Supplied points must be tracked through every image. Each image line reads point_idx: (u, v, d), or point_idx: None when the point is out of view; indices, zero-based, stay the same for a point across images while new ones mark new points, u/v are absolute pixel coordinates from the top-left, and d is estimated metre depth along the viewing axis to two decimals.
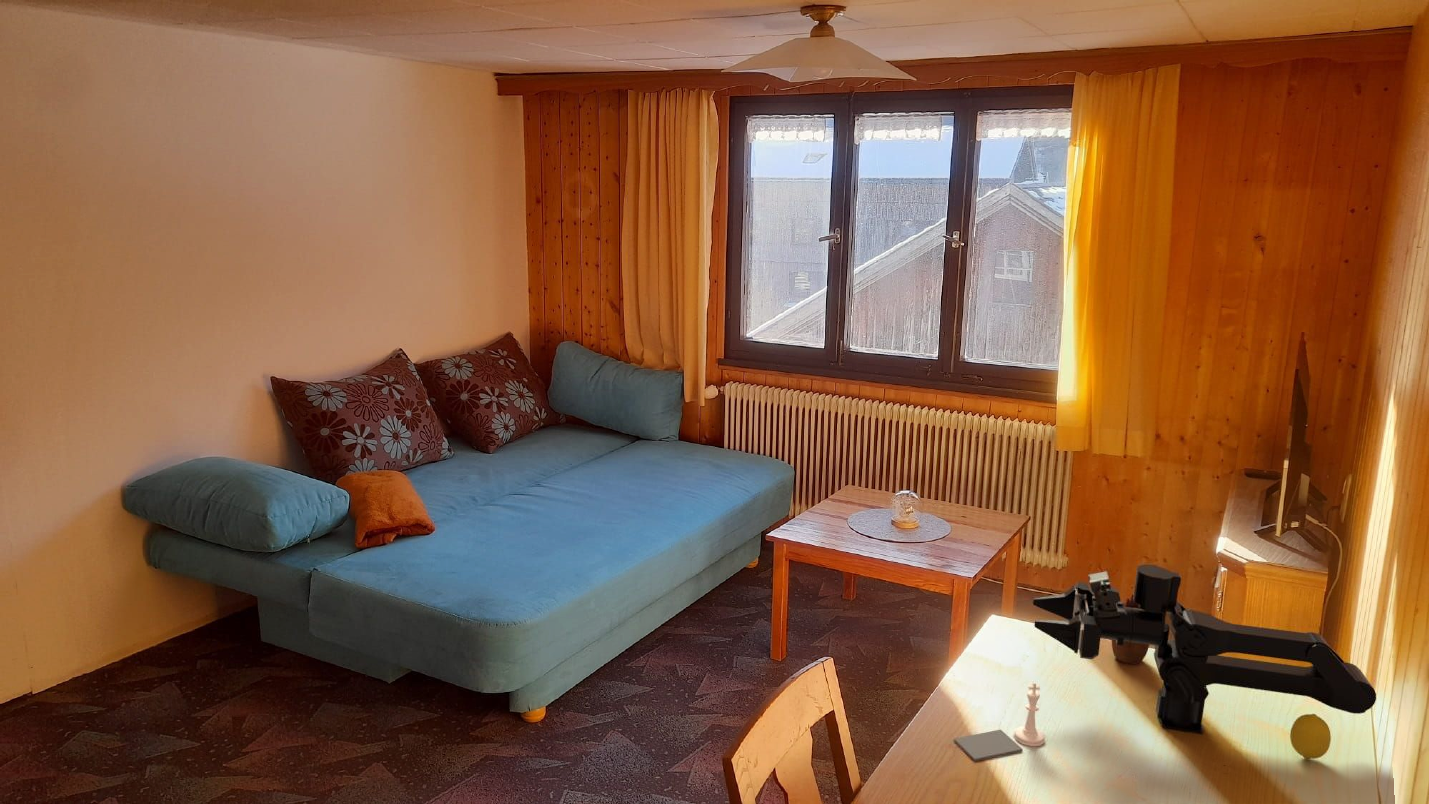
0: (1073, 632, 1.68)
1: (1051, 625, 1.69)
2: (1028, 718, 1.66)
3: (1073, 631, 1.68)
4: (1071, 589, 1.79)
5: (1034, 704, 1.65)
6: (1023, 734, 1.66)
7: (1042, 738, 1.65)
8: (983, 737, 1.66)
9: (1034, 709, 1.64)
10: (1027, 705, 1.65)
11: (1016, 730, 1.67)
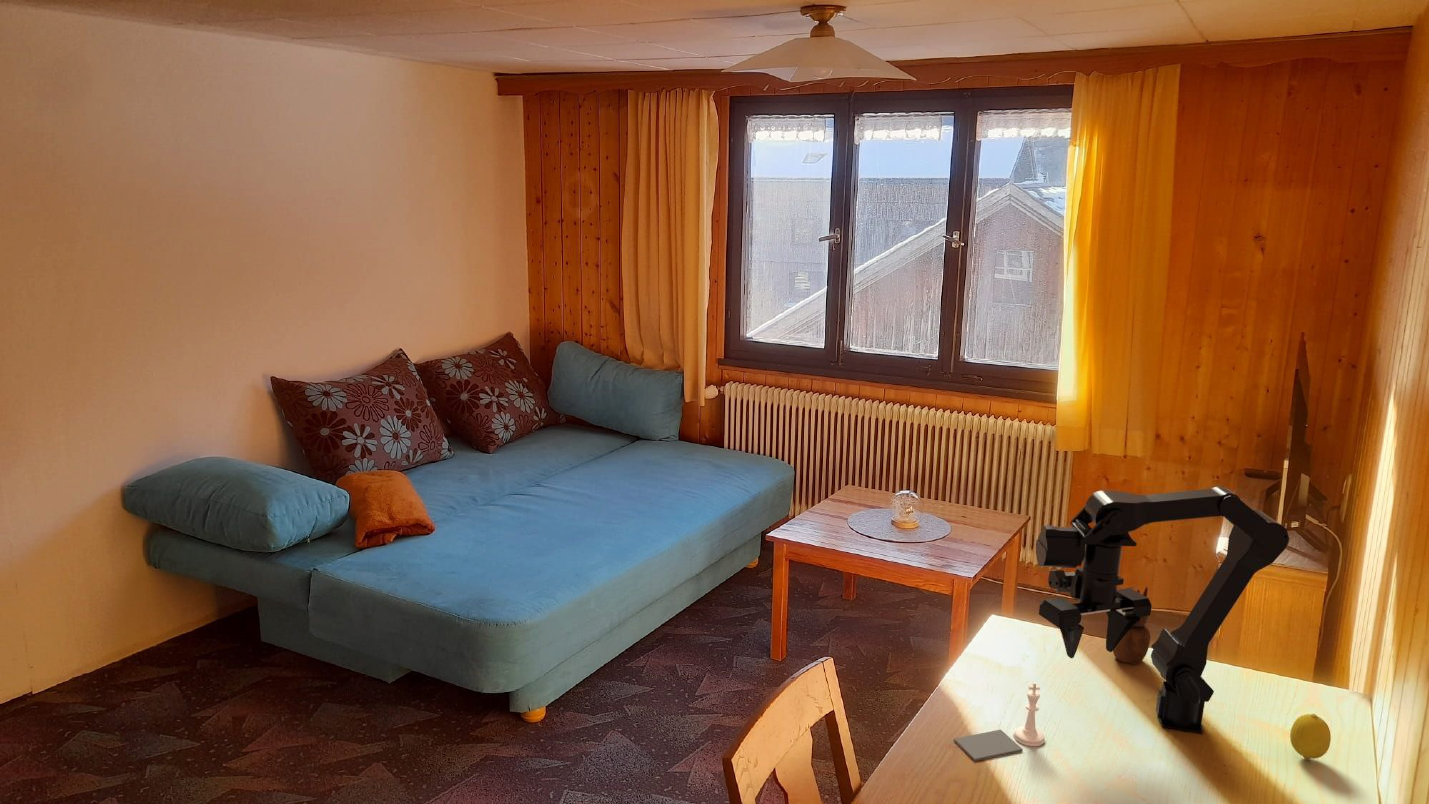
0: None
1: (1065, 642, 1.68)
2: (1028, 718, 1.66)
3: None
4: None
5: (1034, 704, 1.65)
6: (1023, 734, 1.66)
7: (1042, 738, 1.65)
8: (983, 737, 1.66)
9: (1034, 709, 1.64)
10: (1027, 705, 1.65)
11: (1016, 730, 1.67)
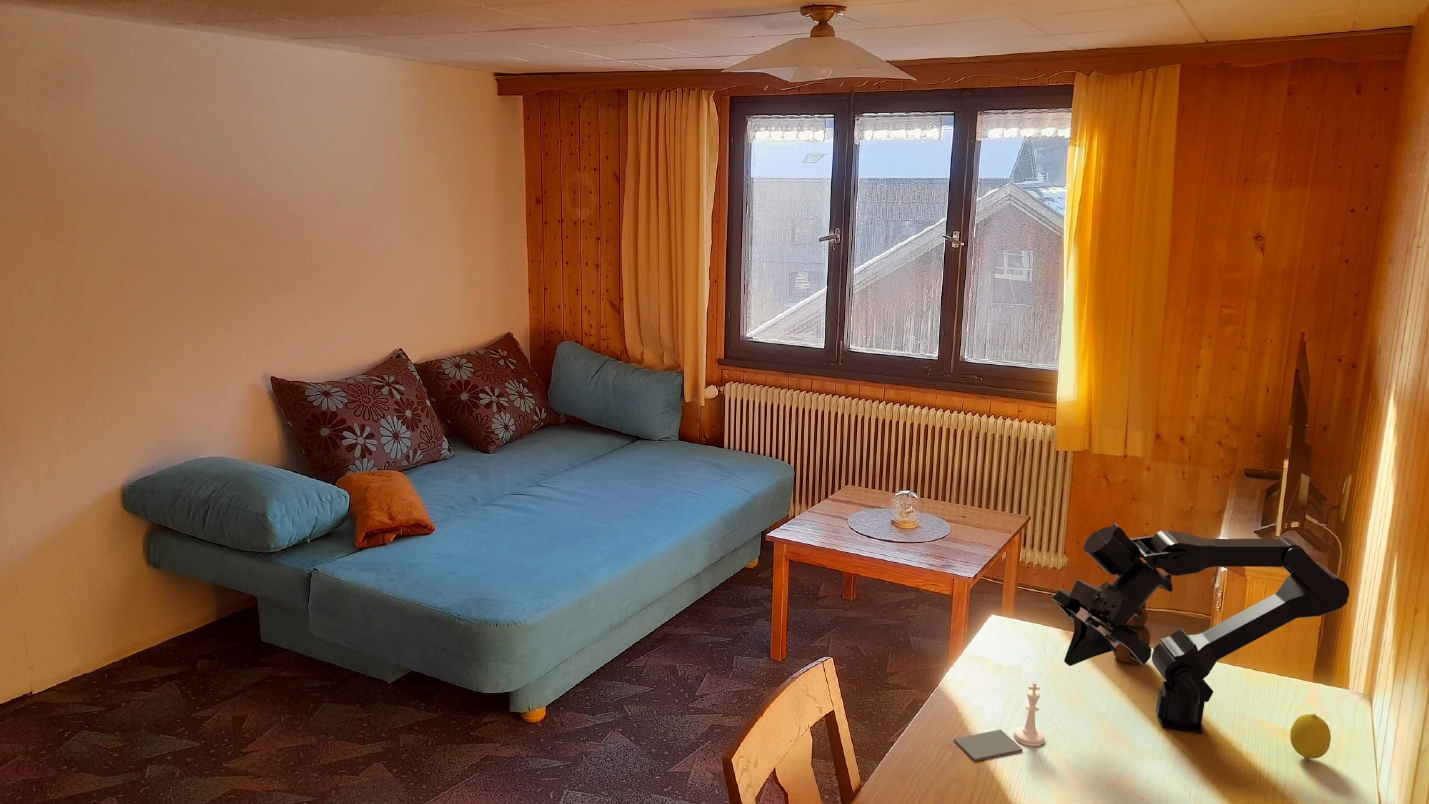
0: (1097, 639, 1.65)
1: (1080, 653, 1.65)
2: (1028, 718, 1.66)
3: (1096, 639, 1.65)
4: (1076, 621, 1.67)
5: (1034, 704, 1.65)
6: (1023, 734, 1.66)
7: (1042, 738, 1.65)
8: (983, 737, 1.66)
9: (1034, 709, 1.64)
10: (1027, 705, 1.65)
11: (1016, 730, 1.67)
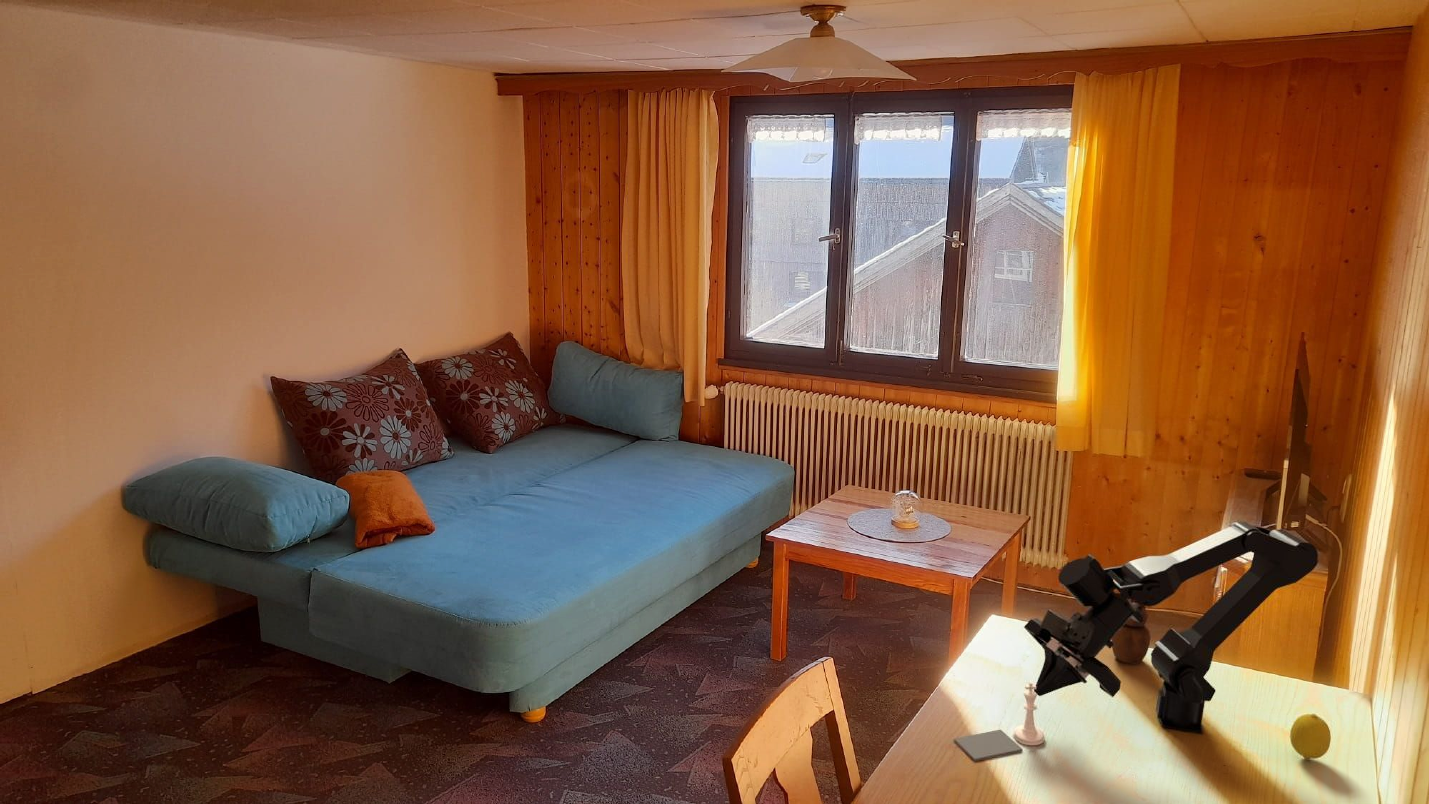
0: (1067, 670, 1.64)
1: (1050, 683, 1.64)
2: (1027, 717, 1.65)
3: (1066, 669, 1.64)
4: (1047, 651, 1.66)
5: (1032, 703, 1.64)
6: (1023, 734, 1.66)
7: (1042, 736, 1.65)
8: (983, 737, 1.66)
9: (1032, 708, 1.64)
10: (1025, 705, 1.65)
11: (1016, 730, 1.67)
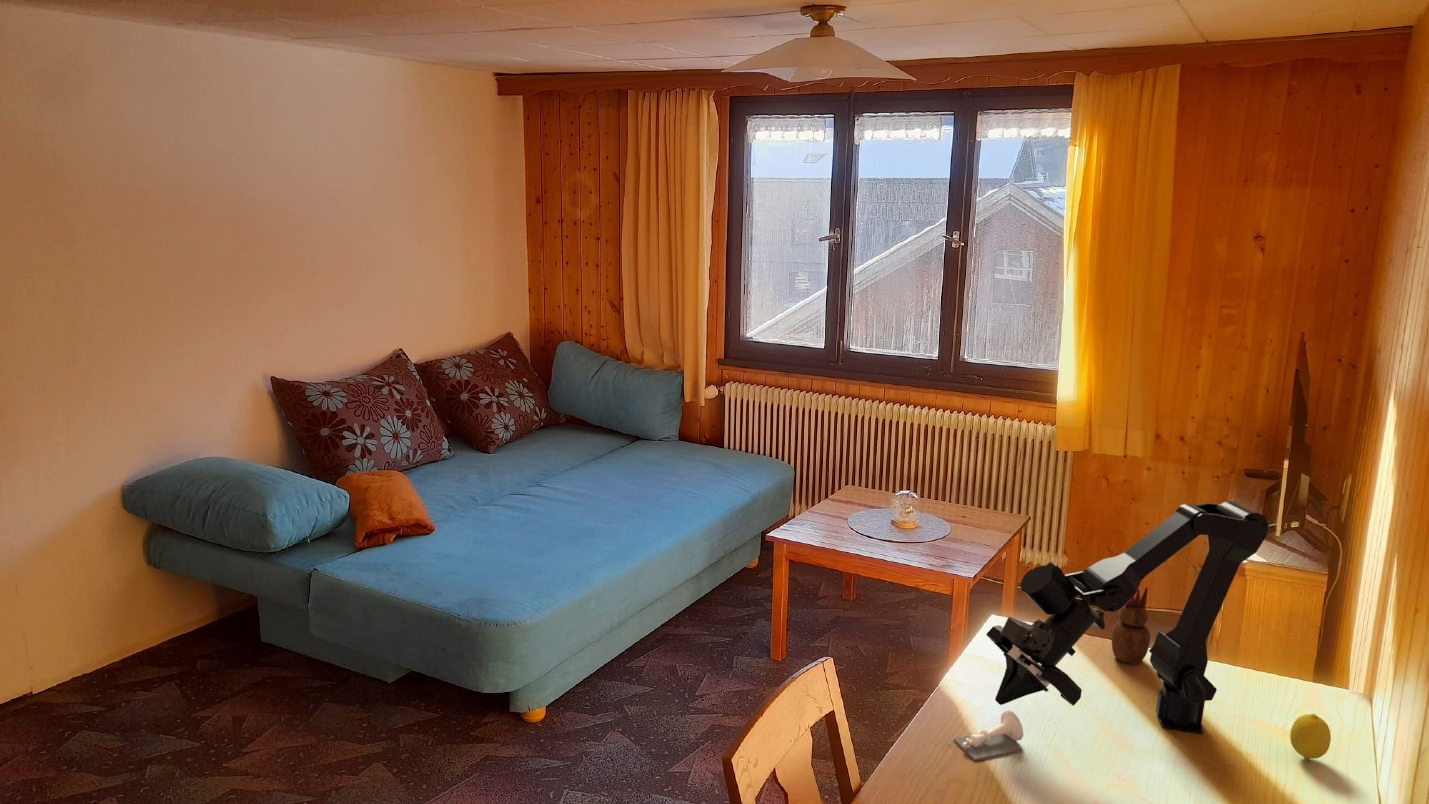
0: (1028, 678, 1.62)
1: (1011, 692, 1.62)
2: (996, 735, 1.64)
3: (1027, 677, 1.62)
4: (1008, 659, 1.64)
5: (983, 739, 1.63)
6: (1011, 736, 1.65)
7: (1015, 723, 1.64)
8: None
9: (988, 739, 1.63)
10: None
11: None
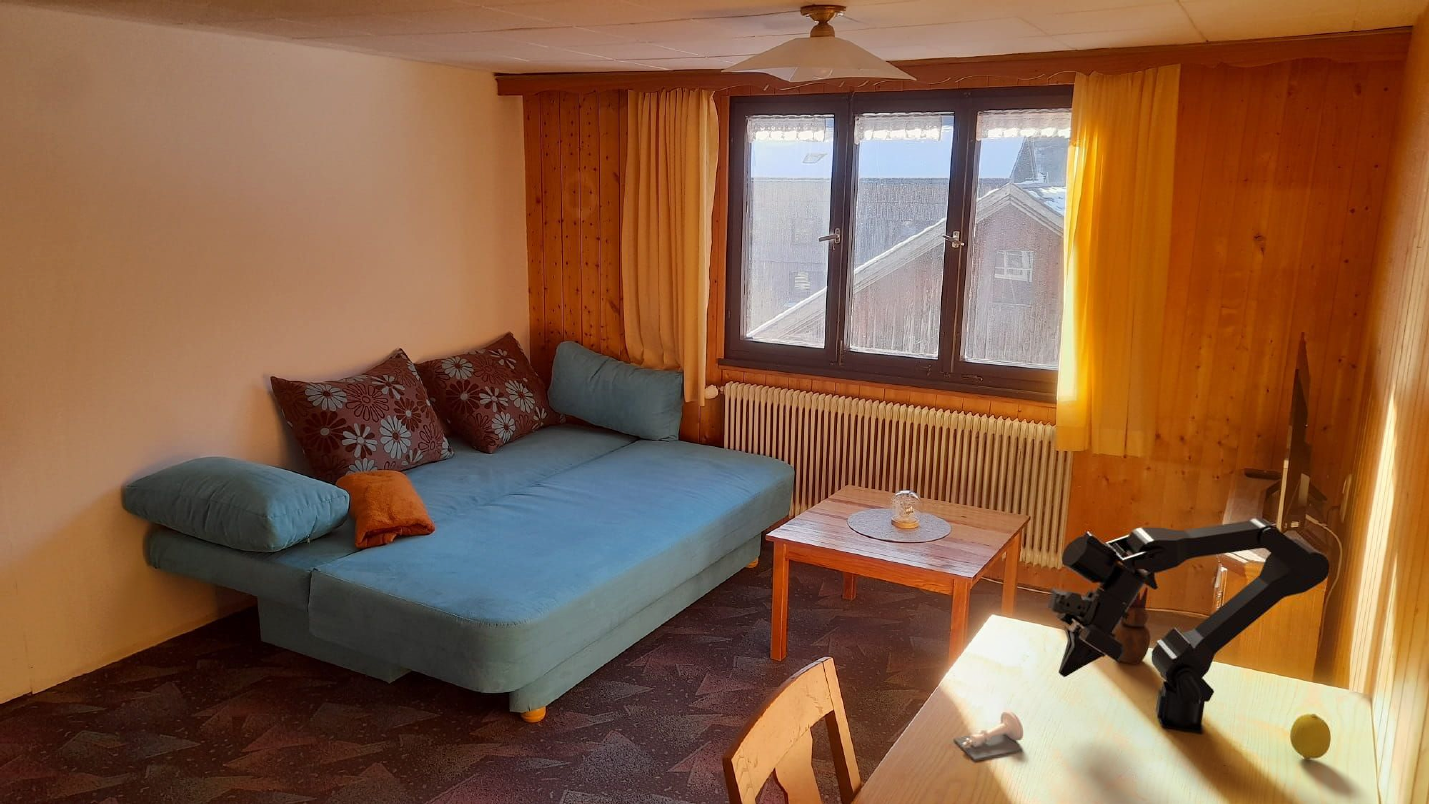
0: (1084, 646, 1.66)
1: (1069, 661, 1.66)
2: (996, 735, 1.64)
3: (1083, 646, 1.66)
4: (1066, 632, 1.69)
5: (983, 738, 1.63)
6: (1011, 736, 1.65)
7: (1015, 723, 1.64)
8: None
9: (988, 739, 1.63)
10: None
11: None
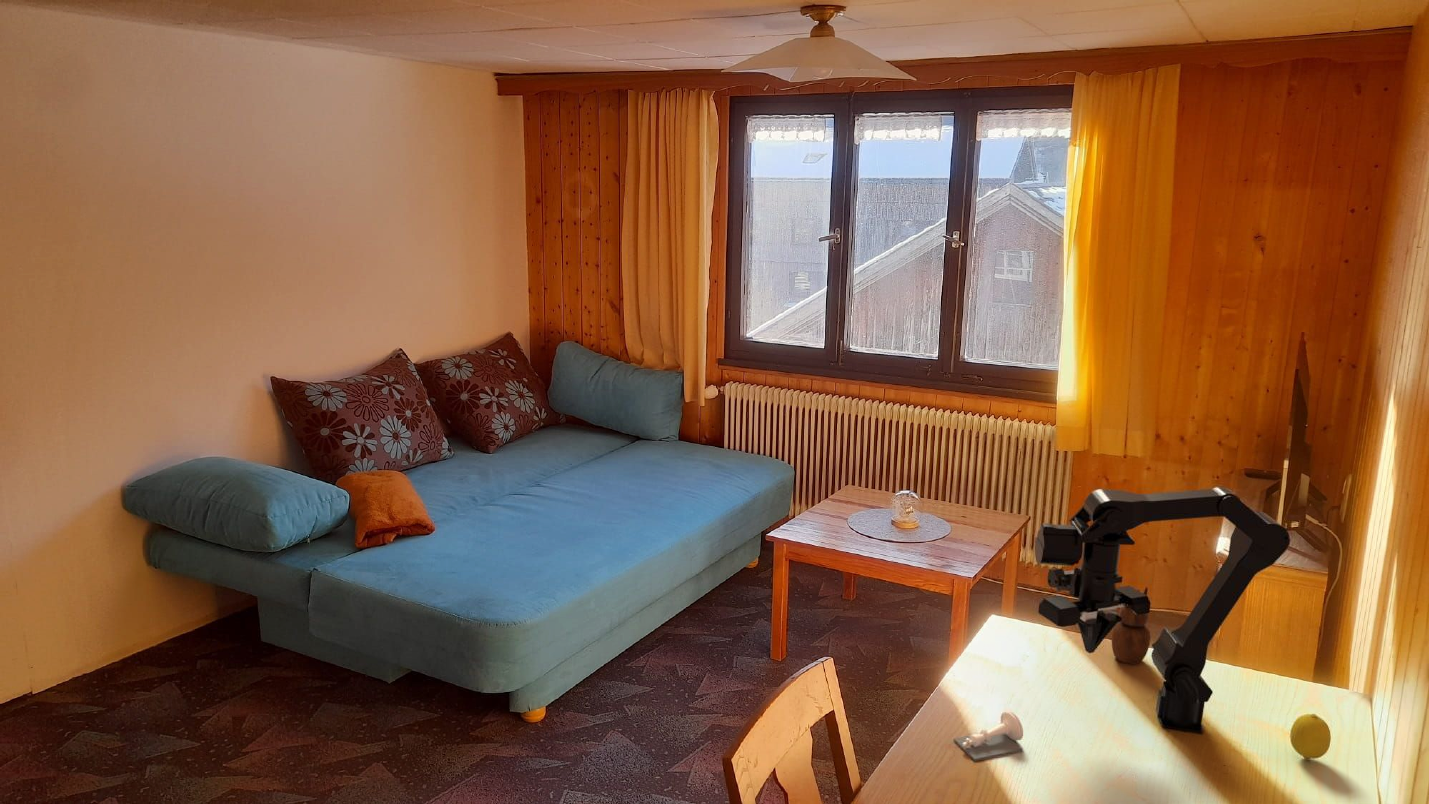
0: None
1: (1083, 637, 1.70)
2: (996, 735, 1.64)
3: None
4: None
5: (983, 738, 1.63)
6: (1011, 736, 1.65)
7: (1015, 723, 1.64)
8: None
9: (988, 739, 1.63)
10: None
11: None
